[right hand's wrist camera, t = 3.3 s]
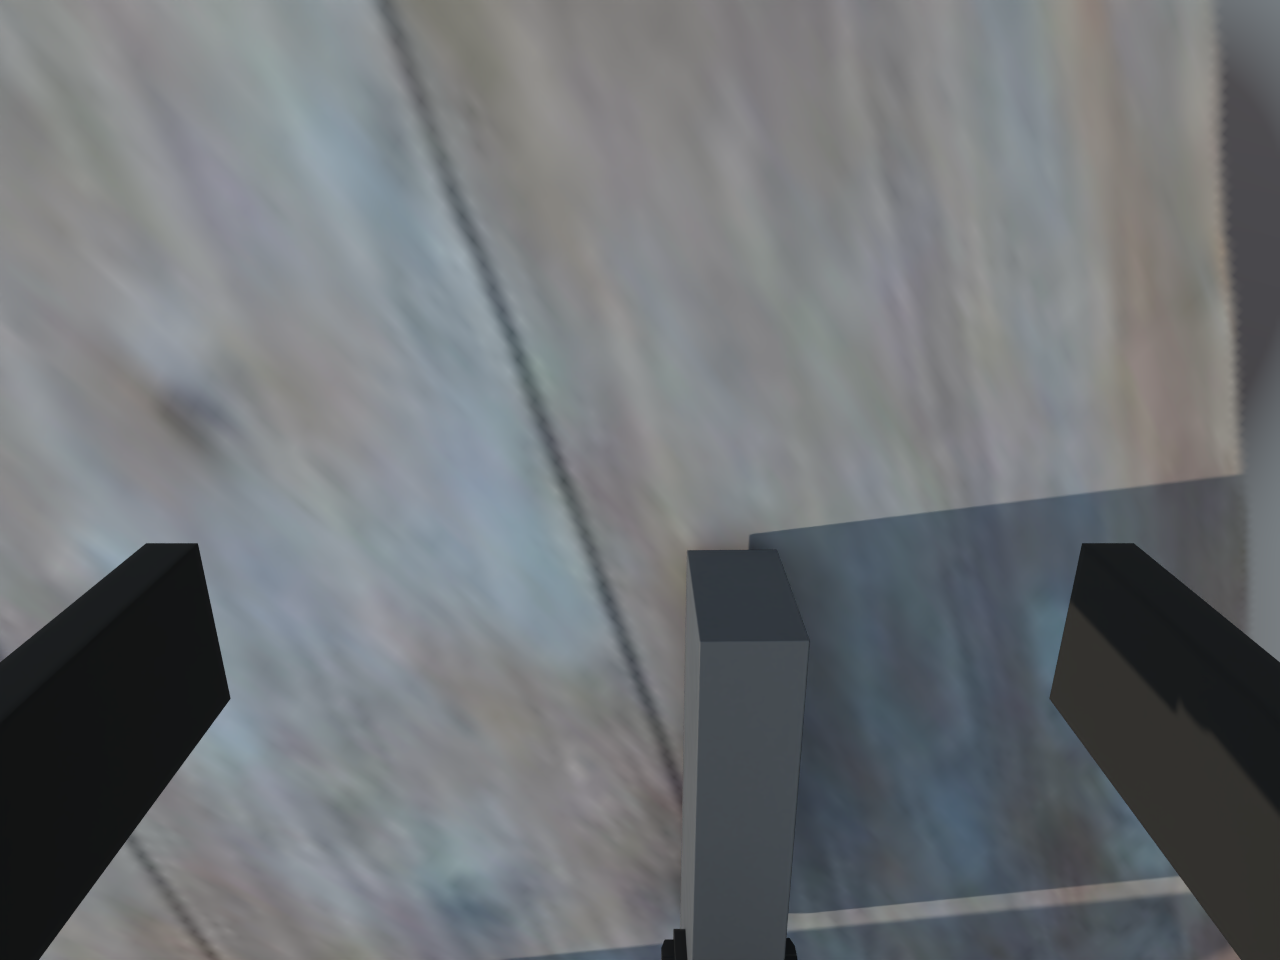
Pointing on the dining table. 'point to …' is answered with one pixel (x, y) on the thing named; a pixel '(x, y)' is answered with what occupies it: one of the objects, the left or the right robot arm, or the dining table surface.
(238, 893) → the dining table surface
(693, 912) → the bar
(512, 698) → the dining table surface
